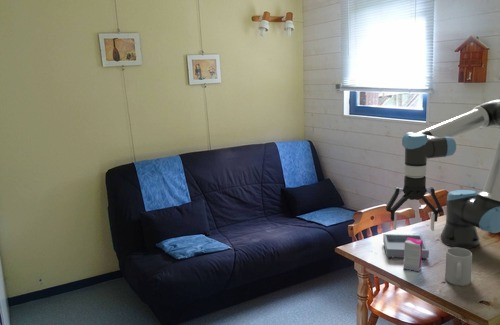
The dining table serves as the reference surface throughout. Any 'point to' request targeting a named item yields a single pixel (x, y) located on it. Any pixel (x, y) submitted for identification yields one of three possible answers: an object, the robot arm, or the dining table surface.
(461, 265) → the mug
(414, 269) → the supplement box
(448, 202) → the robot arm
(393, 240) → the grey tray
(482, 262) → the dining table surface
